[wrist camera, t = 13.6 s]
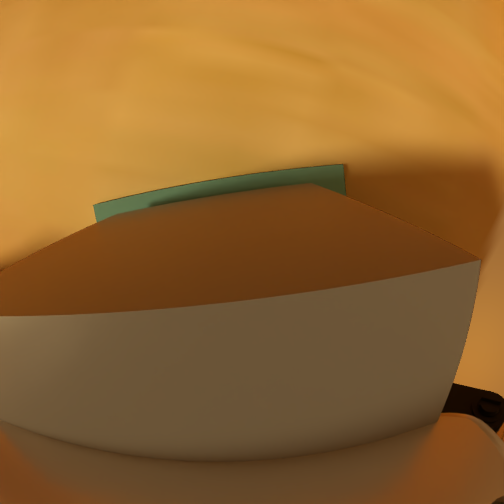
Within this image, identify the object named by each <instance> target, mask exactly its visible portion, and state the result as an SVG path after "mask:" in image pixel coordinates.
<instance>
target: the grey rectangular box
mask: <svg viewBox="0 0 504 504" xmlns="http://www.w3.org/2000/svg"><path fill="white" fill-rule="evenodd" d="M480 266H481V259H479V258H477V257H476V256H474V255H472V254H470V253H468V252H466V251H464V250H462V249H461V248H459V247H457V246H455V245H453V244H451V243H449V242H447V241H445V240H443V239H441V238H439V237H437V236H435V235H433V234H431V233H429V232H427V231H425V230H422V229H420V228H418V227H416V226H414V225H412V224H410V223H408V222H405V221H403V220H401V219H399V218H396V217H394V216H392V215H390V214H387V213H385V212H383V211H381V210H378V209H376V208H374V207H371V206H369V205H366V204H364V203H362V202H359V201H357V200H354V199H352V198H349V197H347V196H344V195H342V194H339V193H337V192H334V191H332V190H329V189H326V188H324V187H321V186H318V185H316V184H313V183H305V184H296V185H288V186H279V187H271V188H264V189H256V190H249V191H242V192H235V193H229V194H222V195H216V196H209V197H203V198H197V199H191V200H186V201H180V202H174V203H169V204H164V205H158V206H153V207H148V208H143V209H138V210H133V211H128V212H123V213H119V214H115V215H113V216H111V217H108V218H106V219H104V220H102V221H99V222H97V223H95V224H93V225H91V226H88V227H86V228H84V229H82V230H80V231H78V232H76V233H74V234H71V235H69V236H67V237H65V238H63V239H61V240H59V241H57V242H55V243H53V244H51V245H49V246H47V247H45V248H43V249H41V250H39V251H38V252H36V253H34V254H32V255H30V256H28V257H26V258H24V259H23V260H21V261H19V262H17V263H15V264H13V265H12V266H10V267H8V268H6V269H5V270H3V271H1V272H0V420H1V421H4V422H6V423H9V424H11V425H14V426H16V427H19V428H22V429H25V430H27V431H30V432H33V433H36V434H40V435H43V436H46V437H49V438H52V439H56V440H59V441H63V442H66V443H70V444H74V445H78V446H82V447H86V448H91V449H96V450H100V451H106V452H111V453H117V454H123V455H129V456H136V457H144V458H152V459H162V460H175V461H192V462H244V461H261V460H273V459H283V458H292V457H299V456H307V455H314V454H320V453H326V452H332V451H337V450H342V449H347V448H351V447H355V446H360V445H364V444H368V443H372V442H376V441H379V440H383V439H387V438H390V437H393V436H397V435H400V434H403V433H406V432H409V431H412V430H415V429H418V428H421V427H424V426H427V425H430V424H432V423H435V422H437V421H438V419H439V417H440V414H441V412H442V410H443V407H444V405H445V402H446V400H447V397H448V395H449V392H450V389H451V386H452V384H453V381H454V378H455V375H456V372H457V369H458V366H459V363H460V359H461V356H462V353H463V349H464V346H465V342H466V338H467V334H468V330H469V326H470V322H471V318H472V313H473V308H474V303H475V298H476V292H477V287H478V280H479V273H480Z"/></svg>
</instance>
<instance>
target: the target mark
mask: <svg viewBox="0 0 504 504" xmlns="http://www.w3.org/2000/svg"><path fill="white" fill-rule="evenodd" d="M305 183H313V184H316V185H318V186H321V187H324V188H326V189H329V190H332V191H334V192H337V193H339V194H342V195H344V196H346V189H345V178H344V168H343V164H340V165H328V166H317V167H306V168H297V169H288V170H279V171H271V172H263V173H256V174H249V175H242V176H235V177H229V178H222V179H216V180H210V181H204V182H198V183H193V184H187V185H182V186H176V187H171V188H166V189H161V190H156V191H151V192H147V193H142V194H137V195H133V196H128V197H124V198H120V199H115V200H111V201H107V202H103V203H99V204H95V205H93V206H94V211H95V216H96V220H97V222H99V221H102V220H104V219H106V218H108V217H111V216H113V215H115V214H119V213H123V212H128V211H133V210H138V209H143V208H148V207H153V206H158V205H164V204H169V203H174V202H180V201H186V200H191V199H197V198H203V197H209V196H216V195H222V194H229V193H235V192H242V191H249V190H256V189H264V188H271V187H279V186H288V185H296V184H305Z"/></svg>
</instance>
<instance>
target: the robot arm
mask: <svg viewBox="0 0 504 504" xmlns="http://www.w3.org/2000/svg"><path fill="white" fill-rule="evenodd" d="M0 504H504V398H502V396H500V395H499V394H496V393H494V392H491V391H485V390H481V389H477V388H472V387H468V386H464V385H459V384H455V383H453V384H452V386H451V389H450V392H449V395H448V397H447V400H446V402H445V405H444V407H443V410H442V412H441V414H440V417H439V419H438V421H437V422H435V423H432V424H430V425H427V426H424V427H421V428H418V429H415V430H412V431H409V432H406V433H403V434H400V435H397V436H393V437H390V438H387V439H383V440H379V441H376V442H372V443H368V444H364V445H360V446H355V447H351V448H347V449H342V450H337V451H332V452H326V453H320V454H314V455H307V456H299V457H292V458H283V459H273V460H261V461H244V462H192V461H175V460H162V459H152V458H144V457H136V456H129V455H123V454H117V453H111V452H106V451H100V450H96V449H91V448H86V447H82V446H78V445H74V444H70V443H66V442H63V441H59V440H56V439H52V438H49V437H46V436H43V435H40V434H36V433H33V432H30V431H27V430H25V429H22V428H19V427H16V426H14V425H11V424H9V423H6V422H4V421H1V420H0Z"/></svg>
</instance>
